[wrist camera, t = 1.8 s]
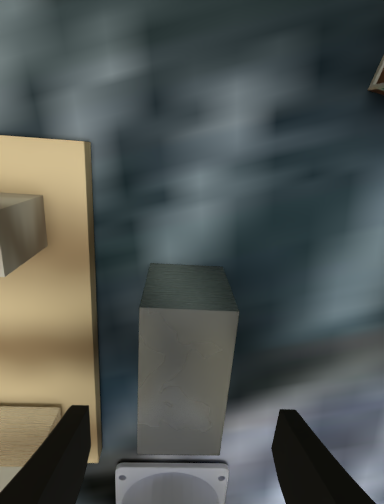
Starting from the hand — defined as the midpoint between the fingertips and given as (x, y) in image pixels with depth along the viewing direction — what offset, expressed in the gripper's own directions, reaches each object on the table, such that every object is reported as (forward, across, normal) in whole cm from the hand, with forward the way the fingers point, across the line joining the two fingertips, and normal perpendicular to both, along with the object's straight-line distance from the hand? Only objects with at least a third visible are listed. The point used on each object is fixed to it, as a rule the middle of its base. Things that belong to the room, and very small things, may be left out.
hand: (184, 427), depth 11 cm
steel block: (+7, 0, 0) cm, 7 cm away
